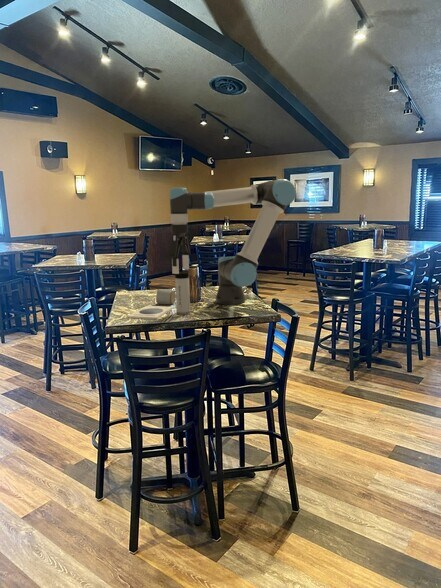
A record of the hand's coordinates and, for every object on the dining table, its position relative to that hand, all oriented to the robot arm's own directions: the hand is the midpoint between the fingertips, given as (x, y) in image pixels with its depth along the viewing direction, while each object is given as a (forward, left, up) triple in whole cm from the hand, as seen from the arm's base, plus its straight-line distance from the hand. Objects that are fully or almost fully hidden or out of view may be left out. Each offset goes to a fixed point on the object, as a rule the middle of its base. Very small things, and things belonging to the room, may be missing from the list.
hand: (180, 271), depth 197 cm
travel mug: (0, 0, -20) cm, 20 cm away
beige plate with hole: (+15, +2, -20) cm, 24 cm away
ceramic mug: (+15, -18, -20) cm, 30 cm away
